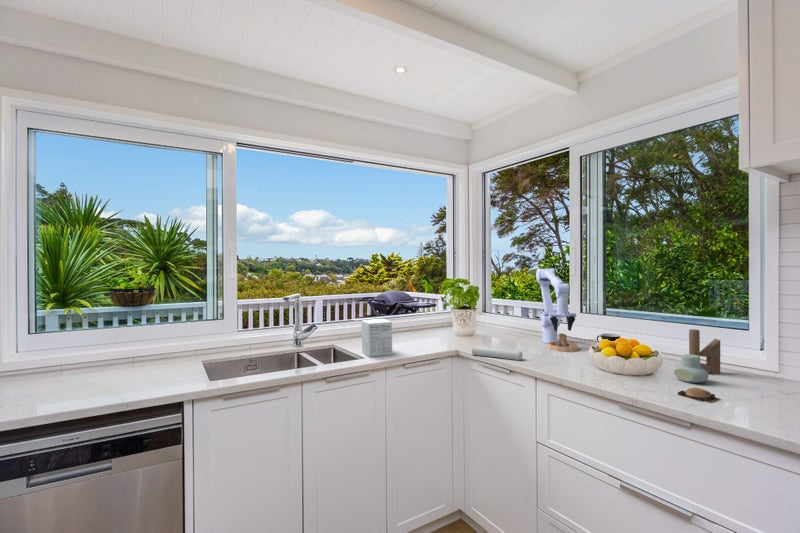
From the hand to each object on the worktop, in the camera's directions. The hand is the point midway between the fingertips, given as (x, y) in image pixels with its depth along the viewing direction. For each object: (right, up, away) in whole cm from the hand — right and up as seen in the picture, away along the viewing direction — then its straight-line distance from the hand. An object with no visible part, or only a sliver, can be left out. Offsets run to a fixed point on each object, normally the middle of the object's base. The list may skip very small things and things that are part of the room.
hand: (562, 330), depth 214 cm
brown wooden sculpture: (+39, -10, -49) cm, 63 cm away
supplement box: (-101, -12, -4) cm, 102 cm away
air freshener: (+26, -10, -60) cm, 66 cm away
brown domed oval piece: (+15, -11, -77) cm, 79 cm away
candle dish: (0, -10, 0) cm, 10 cm away
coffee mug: (+18, -10, -14) cm, 25 cm away
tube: (-40, -11, -17) cm, 44 cm away
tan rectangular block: (0, -9, 0) cm, 9 cm away
